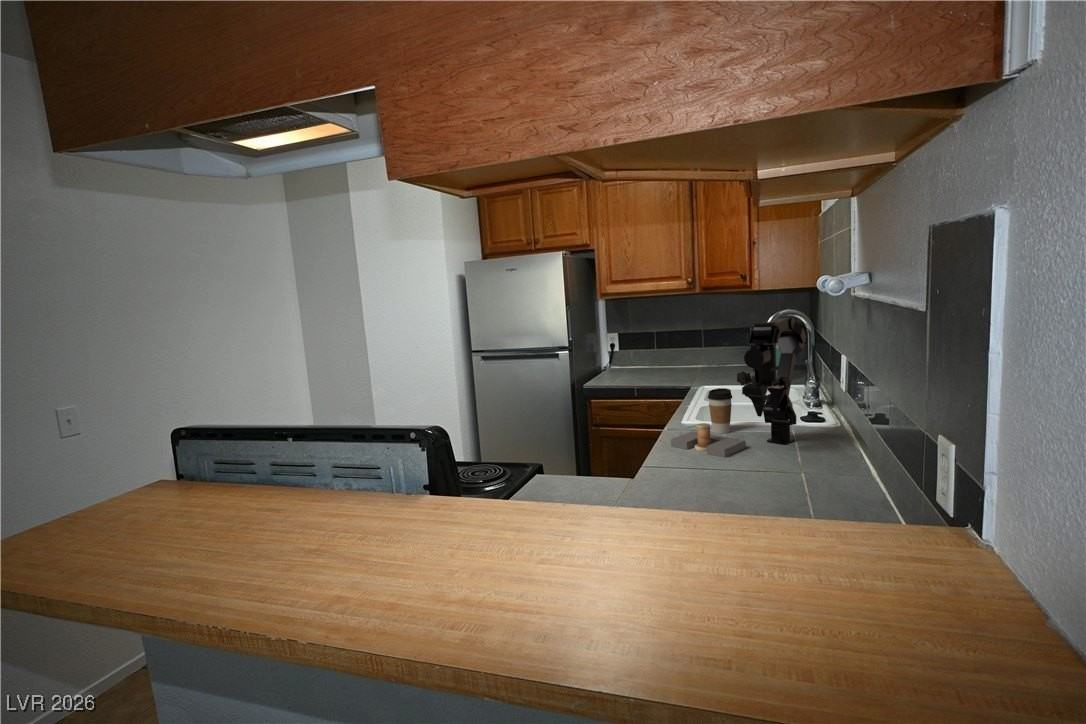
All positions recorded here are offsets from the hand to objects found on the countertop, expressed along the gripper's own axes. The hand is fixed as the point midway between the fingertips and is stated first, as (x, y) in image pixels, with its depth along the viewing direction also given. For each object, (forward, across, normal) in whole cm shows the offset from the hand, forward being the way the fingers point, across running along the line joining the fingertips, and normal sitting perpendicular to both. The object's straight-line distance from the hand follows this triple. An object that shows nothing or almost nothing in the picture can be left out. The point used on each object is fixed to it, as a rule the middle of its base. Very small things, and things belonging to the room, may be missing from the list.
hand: (767, 413), depth 171 cm
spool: (+12, +9, -17) cm, 23 cm away
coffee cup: (+12, -12, -24) cm, 29 cm away
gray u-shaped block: (+12, +7, -17) cm, 22 cm away
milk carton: (+12, -113, -55) cm, 126 cm away
